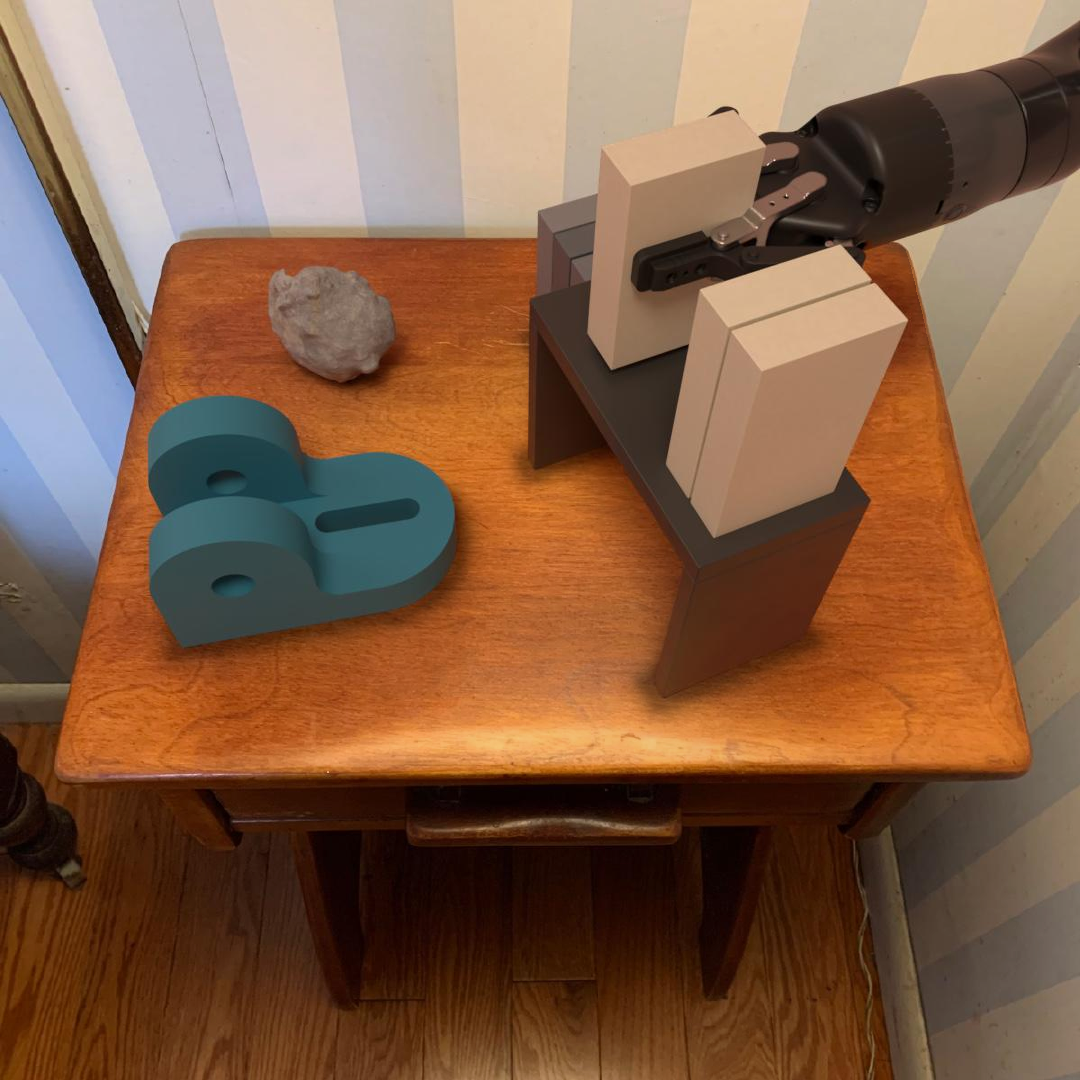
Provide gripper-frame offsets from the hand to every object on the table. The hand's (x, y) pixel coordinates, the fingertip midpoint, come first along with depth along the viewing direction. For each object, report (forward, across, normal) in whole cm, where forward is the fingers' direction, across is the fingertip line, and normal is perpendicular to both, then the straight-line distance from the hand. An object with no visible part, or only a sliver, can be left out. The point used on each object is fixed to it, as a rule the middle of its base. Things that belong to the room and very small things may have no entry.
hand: (619, 249), depth 50 cm
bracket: (+18, -4, +23) cm, 29 cm away
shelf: (-3, +4, +23) cm, 23 cm away
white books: (-3, +10, +8) cm, 13 cm away
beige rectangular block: (-3, 0, +7) cm, 8 cm away
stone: (+12, -19, +23) cm, 32 cm away
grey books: (-6, -12, +23) cm, 27 cm away
